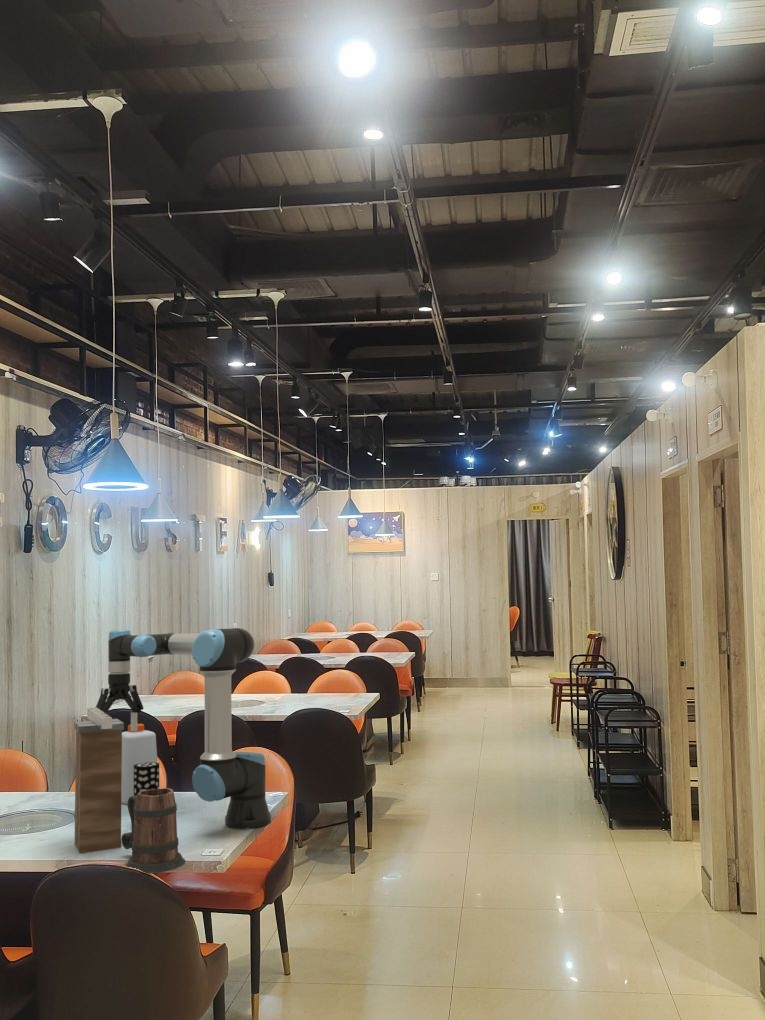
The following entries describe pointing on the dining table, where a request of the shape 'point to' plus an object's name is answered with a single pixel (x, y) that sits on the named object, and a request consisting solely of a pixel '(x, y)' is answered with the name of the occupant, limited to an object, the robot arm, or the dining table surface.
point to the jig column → (98, 786)
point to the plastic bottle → (135, 756)
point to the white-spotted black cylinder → (146, 776)
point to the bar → (99, 718)
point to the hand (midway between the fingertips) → (118, 733)
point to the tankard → (153, 832)
